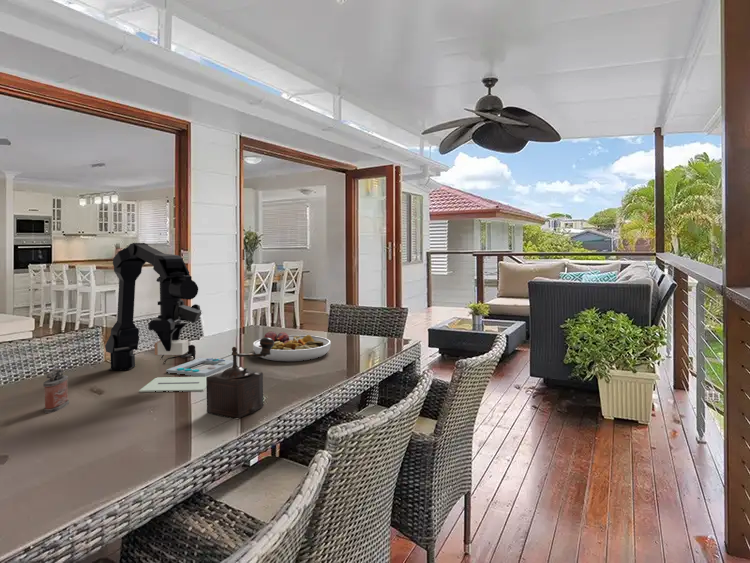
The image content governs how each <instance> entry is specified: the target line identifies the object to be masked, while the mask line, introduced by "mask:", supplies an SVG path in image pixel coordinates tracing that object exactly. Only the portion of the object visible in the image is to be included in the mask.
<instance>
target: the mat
mask: <svg viewBox="0 0 750 563" xmlns="http://www.w3.org/2000/svg"><path fill="white" fill-rule="evenodd" d="M207 377H208V376H206V377H201V376H180V377H179V376H171V377H169V376H167V377H166V376H165V377H164V376H163V377H160V376H159V377H155V378H154V379H152V380H151V381H149V382H148V383H147V384H145V385H144V386H143V387H142V388H140V389H139V390H138V393H164V392H163V391H166V392H165V393H168V391H169V392H170V393H171V392H172V393H174V392H173V391H179V392H182V391H183V392H204V391H205V389H206V390H207V385H206V378H207ZM155 391H156V392H155ZM179 392H178V393H179ZM183 392H182V393H183Z"/></svg>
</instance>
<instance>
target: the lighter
mask: <svg viewBox="0 0 750 563" xmlns="http://www.w3.org/2000/svg"><path fill="white" fill-rule="evenodd" d="M46 379H47V380H46V381H44V382H43V384H42V385H43V387H44V408H43V410H44V413H46V414H50V413H54V412H58V411H60V410H62V409H64V408H65V407H67V406H68V405H69V403H70V401H69V397H68V396H69V395H68V379H69V376H68V374H67V375H65V374H64V368H53V369H52V370H51V371H50V372H47V373H46Z"/></svg>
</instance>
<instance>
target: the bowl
mask: <svg viewBox="0 0 750 563" xmlns="http://www.w3.org/2000/svg"><path fill="white" fill-rule="evenodd" d="M264 337H267V338H271V339H273V340H274V346H273V347H272V348H271V350H270V353H271V355H267V356H265V357H264V356H260V357H259V358H262V359H264V360H269V361H273V362H274V361H275V362H300V361H302V362H303V360H304V361H308V360H310V359H311V360H314V359H319V358H321V357H323V356H325V355H326V354H327V353H328V352H329V350H330V349H331V340H330V339H328V338H326V337H322V336H315V335H311V334H307V335H306V334H305V335H301V334H299V335H298V334H291V335H288V334H287V333H286V332H285V331H283V332H282V331H281V332H280V333H278V334H277V333H276V332H275V331H268V332H266V333H265V334H264V336H263V338H264ZM261 339H262V338H260V339H257V340H255V341H253V343H252V349H253V351H254V354H260V352H261V350H262V347H261V345H260V340H261ZM318 357H319V358H318Z"/></svg>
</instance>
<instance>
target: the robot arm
mask: <svg viewBox="0 0 750 563" xmlns="http://www.w3.org/2000/svg"><path fill="white" fill-rule="evenodd" d="M146 263H148V264H150V265H152V267H153V268H152V269H153V271H154V272H155V273H157V274H158V276H159V277H157V278H156V282H158V283H159V301H157V306H160V307H159V308H160V309H159V310H160V311H159V313H160V314H159V315H157V318H154V319H152V320H150V321H149V322H148V324H147V327H148V331H153V332H154V333H155V334H156V336H158V338H159V341H160V340H161V342H162V344H163V346H164V348H165V349H166V351H170V350H171V343H172V340H180V336H181V332H182V330H183V329H184V327H186V326H187V325H188V323H189V322H190V323H196V322H199V319H200V316H202V310H201V306H200V304H197V303H194V304H192V305H191V306H190V305H185V301H184V300H188V301H191V300H193V299H195V298H196V297H197V295H198V293H199V287H198V284H197V283H196V282H195V280H192V279H193V278H192V276H191V275H190V270H189V269H188V268H187V266H186V264H185V260H183V257H182V256H181V255H178V254H170V253H164V252H163V251H160V250H159V249H156V248H154V247H152V246H151V245H149V244H148V243H145V242H132V243H130V244H129V245H128V246H127V247H125V248H123V249H120V250H119V251H118V252H117V253H116V254H115V255H114V257H113V260H112V266H113V272H114V273H115V275H116V277H117V278H118V294H117V316H116V317H117V319H116V322H115V323H114V325H112V328H111V330H110V335H109V337H108V339H107V341H106V343H105V345H104V347H105V352H106V353H109V354H110V355H109V356H110V367H109V368H108V371H110V370H113V371H130V370H131V369H133V368H134V367H136V366H135V365H136V360H135V359H136V354H135V353H134V350H135V351H136V350H138V347H139V341H140V334H139V333H140V329H139V328H138V327H137V326H136V325H135V323H134V317H135V314H134V312H135V300H136V299H135V296H136V281H137V279H139V276H140V275H141V274H142V271H143V266H144V265H145V264H146ZM184 321H186V322H184ZM132 367H133V368H132ZM129 369H130V370H129Z"/></svg>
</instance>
